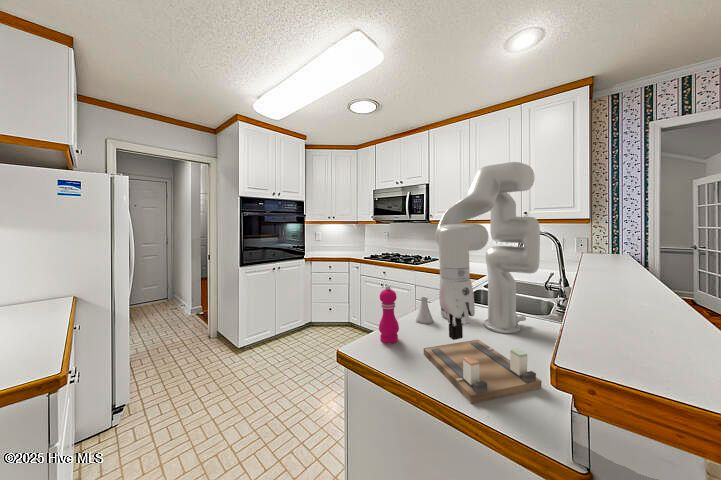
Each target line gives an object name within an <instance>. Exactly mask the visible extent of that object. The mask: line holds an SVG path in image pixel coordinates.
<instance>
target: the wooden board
mask: <svg viewBox="0 0 721 480" xmlns="http://www.w3.org/2000/svg"><path fill="white" fill-rule="evenodd" d="M423 355H424V356H425V357H426V359H428V361H429V362H431V364H432V365H433V366H434V367H435V368H436V369H437V370H438V371H439V372H440V373H442V375H443V376H444V377H445V378H446V379H447V380H448V381H449V382H450V383H451V384H452V385H453V386H454V388H455V389H456V390H457V391H458V392H459V393H460V394H461V395H462V396H463V397H464V398H465V399H466V400H467V401H468V402H469V403H470V404H475V403H481V402H486V401H490V400H493V399H494V400H495V399H500V398H503V397H508V396H512V395H516V394H517V395H518V394H521V393H526V392H531V391H536V390H540V389H542V380H541V379H540V378H538V376H537V373H536V372H534V371H533V370H529V371H527V372H524V373H522V375H520V376H519V375H518V374H516V373H515V372H513V371H512V370H510V358H507V357H506V356H504V355H503V354H502V353H499V352H498V351H496V350H495V349H494V348H493V347H491V346H489V345H487V344H486V343H484V342H483V341H481V340H480V339H473V340H466V341H461V342H460V341H459V342H453V343H447V344H441V345H434V346H429V347H428V346H427V347H423ZM469 356H472V357H473V358H475V359H476V360H477V361H479V382H474V383H473V385H470V384H469V383H468V382H467V381H466V380H465V379H464V378H463V357H469Z"/></svg>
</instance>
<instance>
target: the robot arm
mask: <svg viewBox="0 0 721 480" xmlns="http://www.w3.org/2000/svg"><path fill="white" fill-rule="evenodd" d="M534 183H535V172H534V170H533V168H532V167H531V166H530V165H528V164H526V163H523V162H520V161H509V162H503V163H498V164H490V165H486V166H485V165H484V166H483V167H481V168H479V169H478V170H477V172H476V174H475V175H474V176H473V180H472V182H471V185H470V187H469V189H468V191H467V193H466V196H465V197H463V198H461V199H460V200H459V201H457V202H455V203H454V204H453V205H451V206H450V207H449V208H448V209H447V210H446V211H445V212H444V213H443V214H442V217H441V218H440V221H439V223H438V224H437V227H436V231H435V235H434V236H435V237H434V239H435V243H436V245H437V246H438V247H439V248H438V249H439V251H438V253H439V290H438V291H439V294H438V295H439V305H440V309H441V308H442V309H443V311H444V312H445V313H446V314H447V319H446V320H447V322H448V337H449V338H450V339H451V340H453V341H454V340H461V339H463V337H464V334H463V331H464V329H463V326H464V325H468V324H470V323H471V322H470V317H474V316H475V313H476V311H475V310H476V309H475V294H474V288H473V284H472V280H471V279H470V278H471V276H470V275H471V274H470V252H471V251H472V252H474V251H480V250H482V249H484V248H485V246H486V245H487V244H488V242H489V233H490V237H491V239H492V240H493V241H494V242H499V243H508V244H509V243H512V244H515V243H517V244H522V245H523V246H513V245H510V246H509V245H494V246H491V247H488V249H487V250H486V252H485V262H486V269H487V318H486V319H485V320H484V321H483V326H484V327H485V328H486V329H488V330H490V331H493V332H496V333H501V334H516V333H518V332H520V331H521V325H520V324H519V323H520V322H525V321H526V320H527V318H526V316H525V315H519V316H518V315H517V312H516V311H517V282H516V280H515V277H513V275H512V274H511V273H519V274H520V273H521V274H527V275H528V274H529V275H530V274H535V273H536V272H538V270H539V266H540V258H541V257H540V256H541V255H540V253H541V252H540V250H541V247H540V246H541V226H540V223H539V221H538V219H537V218H535V217H534V216H517V203H516V200H515V199H514V198H513V196H512V195H510V194H509V193H517V192H525V191H527V192H528V191H529V190H531V189H532V187H533V185H534ZM489 211H490V223H489V224H490V232H488V229H487V228H486V227H485V226H484V225H482V224H478V223H463V222H465V221H468V220H471V219H473V218H476V217H480V216H481V215H484V214H486V213H489Z"/></svg>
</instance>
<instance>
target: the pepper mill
mask: <svg viewBox="0 0 721 480" xmlns="http://www.w3.org/2000/svg"><path fill="white" fill-rule="evenodd" d="M384 288H385V289H382V290H381V291H380V293H379V300H380V302H381V304H380V305H381V306H380V307H381V308H382V315H381V319H380V320H379V324H378V331H379V332H380V335H379V336H380V341H381V343H383V344H388V345H389V344H395V343H397V342H398V340H399V335H398V332H399V330H400V326H399V323H398V320H397V319H396V318H397V317H396V316H395V308H396V301H397V294H396V292H395V290H393V289H391V286H390V285H389V284H386V286H385V287H384Z"/></svg>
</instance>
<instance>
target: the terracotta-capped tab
mask: <svg viewBox="0 0 721 480" xmlns="http://www.w3.org/2000/svg"><path fill="white" fill-rule="evenodd" d="M463 378H464V379H465V380H466V381H467V382H468V383H469V384H470V385H473V383H474V382H479V361H477V360H476V359H475V358H473V357H472V356H469V357H463Z"/></svg>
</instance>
